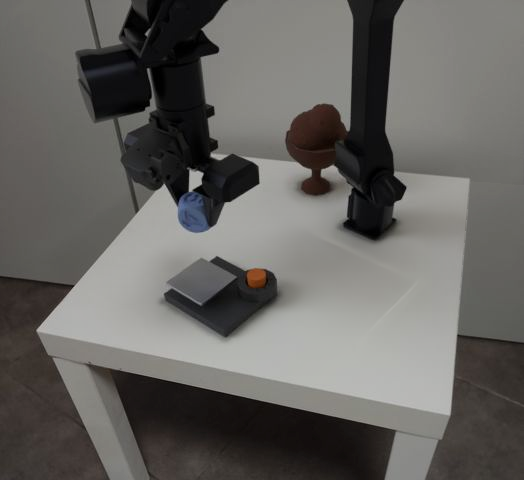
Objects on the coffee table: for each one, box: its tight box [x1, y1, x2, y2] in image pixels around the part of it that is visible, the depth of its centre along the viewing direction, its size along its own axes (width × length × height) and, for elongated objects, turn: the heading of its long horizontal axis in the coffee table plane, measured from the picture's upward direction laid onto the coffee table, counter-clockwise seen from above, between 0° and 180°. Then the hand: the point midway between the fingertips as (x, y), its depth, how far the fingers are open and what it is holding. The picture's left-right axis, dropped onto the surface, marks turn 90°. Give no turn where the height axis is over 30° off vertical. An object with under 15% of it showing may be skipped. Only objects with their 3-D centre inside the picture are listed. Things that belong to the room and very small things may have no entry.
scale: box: [163, 255, 278, 338], centre depth 78 cm, size 13×12×3 cm
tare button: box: [247, 267, 266, 288], centre depth 76 cm, size 3×3×2 cm
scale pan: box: [165, 257, 237, 306], centre depth 77 cm, size 7×7×1 cm
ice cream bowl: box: [284, 103, 349, 197], centre depth 92 cm, size 11×11×15 cm
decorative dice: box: [177, 191, 212, 234], centre depth 72 cm, size 4×4×4 cm
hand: (197, 218), depth 73 cm, fingers closed on decorative dice, 5 cm apart
